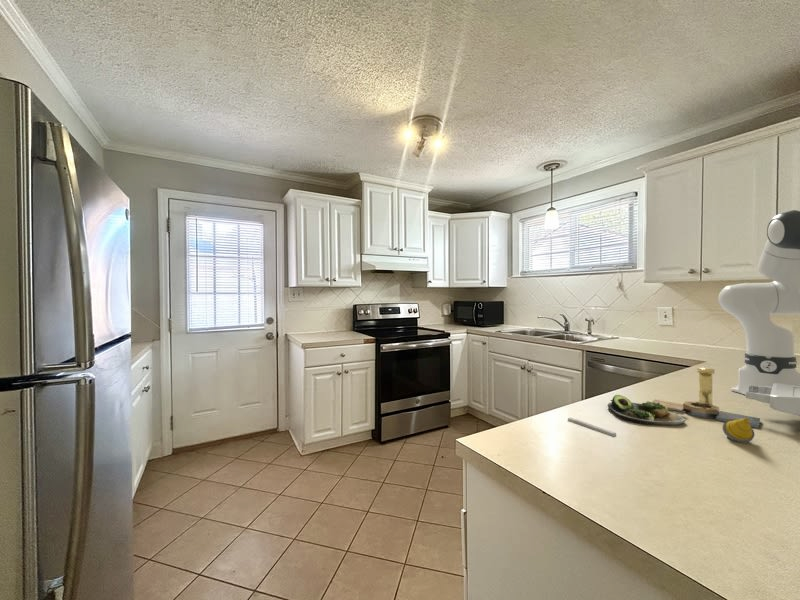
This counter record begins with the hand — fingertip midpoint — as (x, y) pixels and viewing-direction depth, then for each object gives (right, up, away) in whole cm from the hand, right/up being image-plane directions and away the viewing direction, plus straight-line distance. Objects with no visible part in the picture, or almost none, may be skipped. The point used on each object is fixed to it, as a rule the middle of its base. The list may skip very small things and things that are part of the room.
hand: (747, 391), depth 97 cm
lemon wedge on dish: (-19, -7, -17) cm, 27 cm away
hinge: (-12, -7, +2) cm, 14 cm away
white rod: (-50, -8, -8) cm, 51 cm away
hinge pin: (-6, -7, +7) cm, 11 cm away
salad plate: (-30, -8, +2) cm, 31 cm away
